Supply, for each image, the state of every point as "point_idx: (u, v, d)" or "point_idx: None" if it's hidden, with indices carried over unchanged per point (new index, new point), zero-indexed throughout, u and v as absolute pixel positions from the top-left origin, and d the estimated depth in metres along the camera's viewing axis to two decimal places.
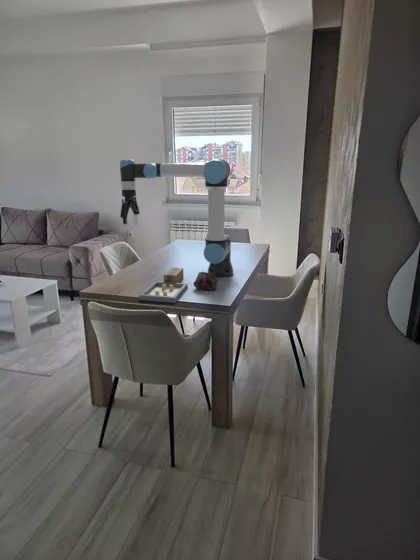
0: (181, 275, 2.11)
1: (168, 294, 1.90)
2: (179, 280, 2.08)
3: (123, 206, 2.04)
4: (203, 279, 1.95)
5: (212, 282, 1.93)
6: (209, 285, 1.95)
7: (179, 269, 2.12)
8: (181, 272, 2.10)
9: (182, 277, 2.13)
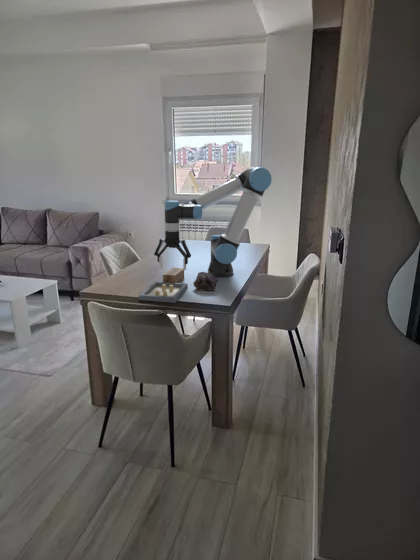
0: (181, 275, 2.10)
1: (168, 294, 1.90)
2: (179, 280, 2.07)
3: (159, 244, 2.05)
4: (203, 279, 1.95)
5: (212, 282, 1.93)
6: (209, 285, 1.95)
7: (180, 269, 2.12)
8: (181, 272, 2.10)
9: (182, 277, 2.12)
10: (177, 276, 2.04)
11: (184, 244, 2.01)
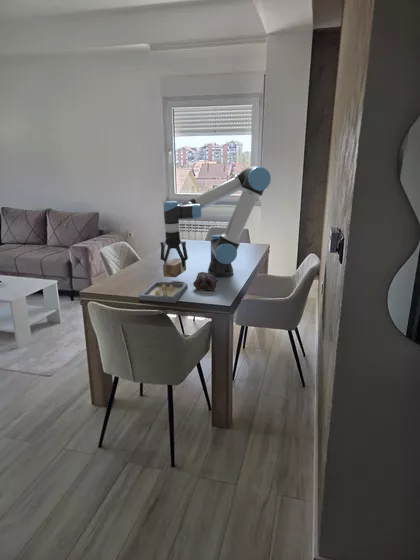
0: None
1: (168, 294, 1.90)
2: (180, 270, 2.06)
3: None
4: (203, 279, 1.95)
5: (212, 282, 1.93)
6: (209, 285, 1.95)
7: None
8: None
9: (184, 268, 2.11)
10: (177, 266, 2.03)
11: (184, 246, 2.01)
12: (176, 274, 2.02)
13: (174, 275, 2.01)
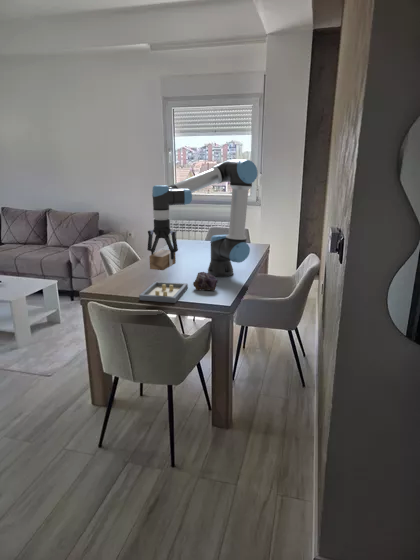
0: None
1: (168, 294, 1.90)
2: (168, 263, 1.85)
3: None
4: (202, 279, 1.95)
5: (211, 282, 1.93)
6: (208, 285, 1.95)
7: None
8: None
9: (173, 260, 1.90)
10: (166, 258, 1.82)
11: (174, 236, 1.81)
12: (164, 267, 1.81)
13: (161, 268, 1.80)
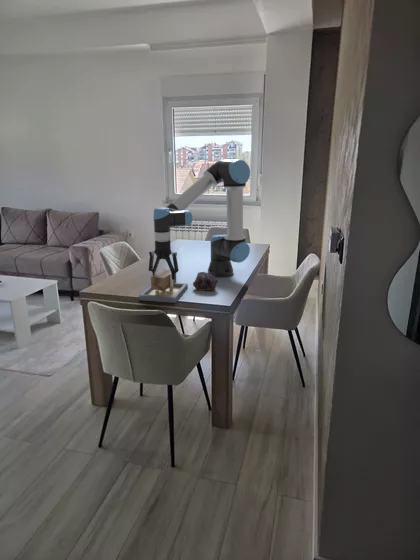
0: None
1: (168, 294, 1.90)
2: (169, 283, 1.88)
3: None
4: (202, 279, 1.95)
5: (211, 282, 1.93)
6: (208, 285, 1.95)
7: None
8: None
9: (174, 280, 1.93)
10: (167, 279, 1.85)
11: (175, 257, 1.84)
12: (165, 287, 1.84)
13: (162, 289, 1.83)
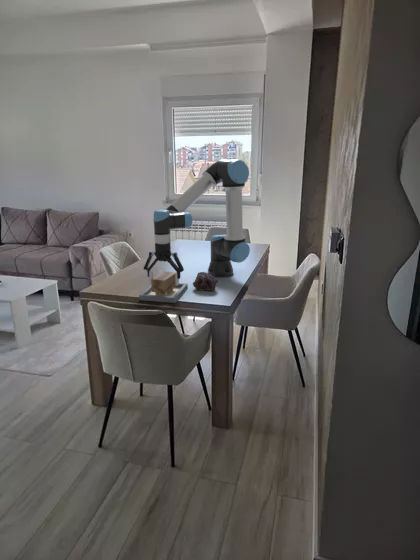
0: (173, 280, 1.91)
1: (168, 294, 1.90)
2: (169, 286, 1.88)
3: None
4: (202, 279, 1.95)
5: (211, 282, 1.93)
6: (208, 285, 1.94)
7: (171, 273, 1.93)
8: (173, 277, 1.91)
9: (174, 282, 1.93)
10: (167, 281, 1.85)
11: (176, 257, 1.84)
12: (165, 290, 1.84)
13: (163, 291, 1.84)
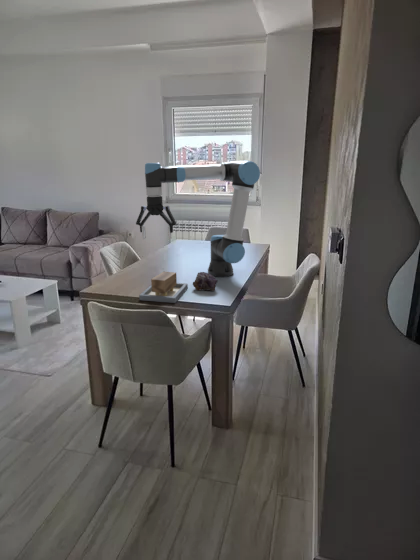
0: (173, 280, 1.91)
1: (168, 294, 1.90)
2: (169, 286, 1.88)
3: None
4: (202, 279, 1.95)
5: (211, 282, 1.93)
6: (208, 285, 1.94)
7: (171, 273, 1.93)
8: (173, 277, 1.91)
9: (174, 282, 1.93)
10: (167, 281, 1.85)
11: (168, 210, 1.85)
12: (165, 290, 1.84)
13: (163, 291, 1.84)
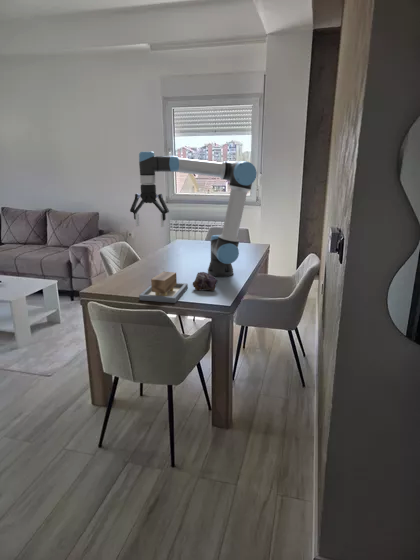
0: (173, 280, 1.91)
1: (168, 294, 1.90)
2: (169, 286, 1.88)
3: None
4: (202, 279, 1.95)
5: (211, 282, 1.93)
6: (208, 285, 1.94)
7: (171, 273, 1.93)
8: (173, 277, 1.91)
9: (174, 282, 1.93)
10: (167, 281, 1.85)
11: (161, 198, 1.90)
12: (165, 290, 1.84)
13: (163, 291, 1.84)
